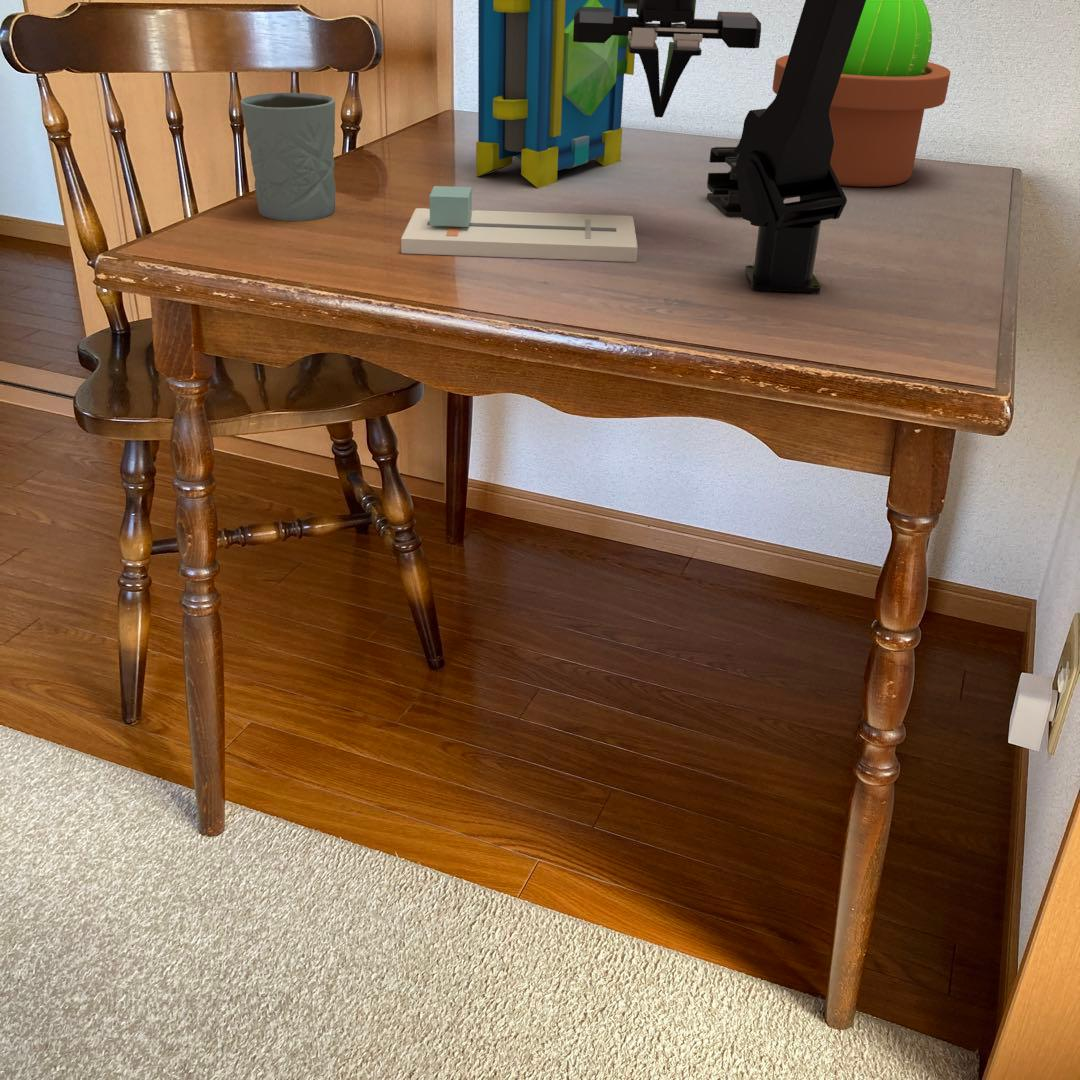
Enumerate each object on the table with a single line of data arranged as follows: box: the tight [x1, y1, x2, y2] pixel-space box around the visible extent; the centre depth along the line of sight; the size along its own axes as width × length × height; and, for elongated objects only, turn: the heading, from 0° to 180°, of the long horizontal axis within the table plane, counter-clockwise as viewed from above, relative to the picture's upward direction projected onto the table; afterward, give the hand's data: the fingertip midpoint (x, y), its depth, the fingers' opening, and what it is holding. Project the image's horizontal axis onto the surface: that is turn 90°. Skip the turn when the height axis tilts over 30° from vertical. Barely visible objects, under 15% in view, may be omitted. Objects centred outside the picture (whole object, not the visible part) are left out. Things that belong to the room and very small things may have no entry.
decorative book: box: [475, 0, 636, 189], centre depth 142 cm, size 14×23×30 cm, turn 146°
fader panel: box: [400, 207, 639, 263], centre depth 120 cm, size 12×24×2 cm, turn 88°
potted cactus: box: [771, 0, 951, 188], centre depth 146 cm, size 22×22×25 cm
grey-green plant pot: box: [240, 92, 336, 222], centre depth 125 cm, size 10×10×12 cm
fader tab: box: [428, 185, 473, 227], centre depth 119 cm, size 4×4×3 cm
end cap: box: [706, 146, 786, 218], centre depth 134 cm, size 10×7×7 cm
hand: (658, 116), depth 119 cm, fingers closed
